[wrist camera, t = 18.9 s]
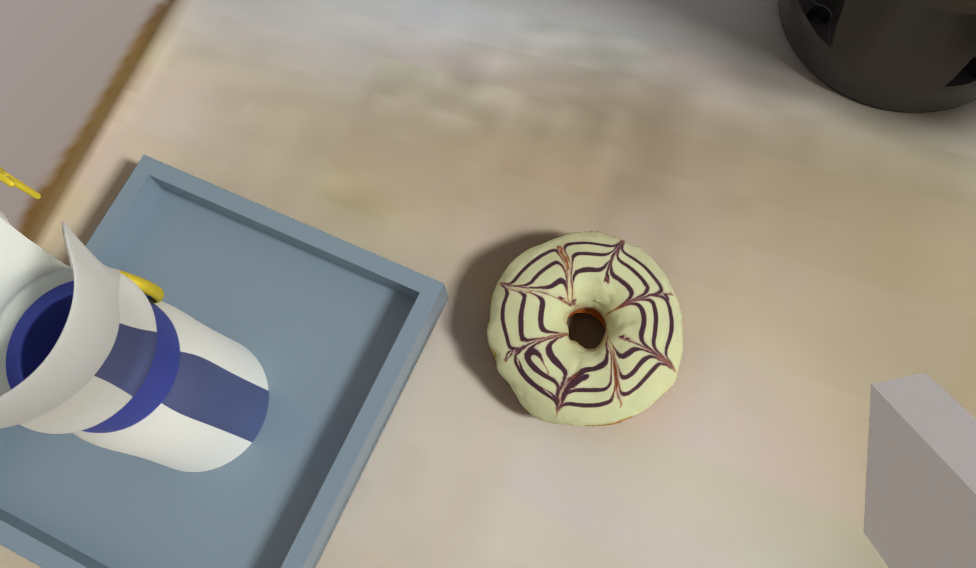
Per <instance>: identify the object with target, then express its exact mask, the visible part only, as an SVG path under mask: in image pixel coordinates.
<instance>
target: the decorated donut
mask: <svg viewBox="0 0 976 568" xmlns="http://www.w3.org/2000/svg"><path fill="white" fill-rule="evenodd" d="M490 304H491V307H490V319H489V323H488V326H487V337H488V343H489V347H490V350H491V352H492V354H493V356H494V357H495V361H496V363H497V371H498V372H499V373H500V375H501V376H502V377H503V378H504V379H505V380H506V381H507V382H508V383H509V384H510V386H511V388H512V390H513V391H514V393H515V394H516V396H517V398H518V400H519V402H520V403H521V405H522V406H523V407H524V408H525V409H526V410H527V411H528V412H529V413H530V414H531V415H533V416H534V417H536V418H538V419H540V420H542V421H545V422H550V423H555V424H567V425H571V426H600V425H612V424H615V423H620V422H622V421H623V420H626V419H628V418H631V417H633V416H634V415H637V414H639V413H641V412H642V411H644V410H646V409H647V408H648V407H650V406H651V405H652V404H653V403H654V402H655V401H656V400H657V399H658V398H659V397H660V396H661V395H663V394H664V393H665V392H666V391H667V390H668V389H669V388H670V387H671V386H672V385H673V384H674V382H675V380H676V378H677V373H678V368H679V364H680V361H681V357H682V353H683V337H682V333H683V326H682V313H681V310H680V307H679V303H678V300H677V297H676V295H675V293H674V291H673V290H672V287H671V285H670V283H669V281H668V279H667V277H666V275H665V273H664V272H663V270H662V269H661V268H660V267H659V266H658V265H657V264H656V263H655V261H654V260H653V258H652V257H651V256H650V255H648V254H647V253H646V252H645V251H643V250H642V249H640V248H639V247H637V246H634V245H631V244H630V243H627V242H625V241H624V240H622V239H620V238H618V237H615V236H611V235H607V234H604V233H602V232H593V231H590V232H578V233H569V234H566V235H563V236H560V237H557V238H554V239H552V240H550V241H547V242H545V243H543V244H540V245H537V246H534V247H532V248H529V249H528V250H526V251H524V252H523V253H522V254H520V255H519V256H518V257H516V258H515V259H514V260H513V261H512V262H511V263H510V264H509V265H508V267H507V268H506V270H505V271H504V273H503V274H502V276H501V278H500V280H499V281H498V283H497V285H496V288H495V290H494V292H493V295H492V297H491V303H490ZM575 313H586V314H587V313H588V314H592V316H593V317H597V319H598V320H599V321H600V322H601V324H602V326H604V328H605V329H606V330H605V333H604V335H603V339H602V341H601V343H600V344H599V345H598V346H597V347H596V348H593V349H586V348H583V347H582V346H581V345H579V344H578V343H577V342H576V341H573V340H570V339H569V329H568V325H567V322H568V318H569V317H570V316H572V315H573V314H575Z"/></svg>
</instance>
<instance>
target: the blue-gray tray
mask: <svg viewBox="0 0 976 568" xmlns="http://www.w3.org/2000/svg"><path fill="white" fill-rule="evenodd" d="M86 248H87V249H88V250H89V251H90V252H91V253H92V254H93V255H94V256H95V257H96V258H97V259H98V260H99V261H100V262H101V263H103V264H104V265H105V266H107V267H110V268H114V269H117V270H121V271H124V272H127V273H130V274H133V275H136V276H139V277H141V278H144V279H146V280H148V281H150V282H152V283H154V284H156V285H158V286H159V287H160V288H162V290H163V291H164V298H163V300H162V301H163V302H165V303H167V304H169V305H172V306H174V307H175V308H177V309H179V310H181V311H182V312H184V313H186V314H187V315H189V316H191V317H192V318H194V319H195V320H197V321H199V322H200V323H202V324H203V325H205V326H207V327H209V328H210V329H212V330H214V331H216V332H218V333H220V334H222V335H224V336H226V337H228V338H230V339H232V340H234V341H236V342H238V343H239V344H241V345H243V346H244V347H246V348H247V349H248V350H249V351H250V352H251V353H252V354H253V355H254V356H255V357H256V358H257V360H258V361H259V363H260V364H261V366H262V368H263V370H264V372H265V375H266V378H267V382H268V389H269V403H268V409H267V414H266V417H265V420H264V423H263V425H262V427H261V429H260V431H259V433H258V435H257V436H256V438H255V439H254V441H253V442H252V443H251V444H250V446H249V447H248V448H247V449H246V450H245V451H244V452H243V453H242V454H240V455H239V456H238V457H237V458H235V459H234V460H232V461H231V462H229V463H227V464H225V465H223V466H221V467H218V468H216V469H212V470H209V471H203V472H184V471H179V470H175V469H172V468H169V467H166V466H164V465H161V464H158V463H155V462H153V461H150V460H147V459H144V458H140V457H137V456H133V455H129V454H125V453H121V452H117V451H113V450H109V449H106V448H102V447H99V446H96V445H94V444H92V443H89V442H87V441H85V440H83V439H81V438H79V437H77V436H76V435H75V434H73V433H67V434H47V433H41V432H37V431H33V430H30V429H28V428H25V427H23V426H21V425H19V424H18V425H15V426H11V427H6V428H1V429H0V545H2V546H4V547H6V548H8V549H10V550H11V551H13V552H15V553H17V554H19V555H20V556H22V557H24V558H26V559H28V560H29V561H31V562H33V563H35V564H37V565H38V566H40V567H42V568H315V567H316V565H317V563H318V561H319V559H320V557H321V555H322V553H323V551H324V549H325V547H326V545H327V543H328V541H329V539H330V537H331V535H332V533H333V531H334V529H335V526H336V524H337V522H338V520H339V518H340V516H341V514H342V512H343V510H344V508H345V506H346V504H347V502H348V500H349V498H350V496H351V494H352V492H353V490H354V488H355V486H356V484H357V482H358V480H359V478H360V476H361V474H362V472H363V470H364V468H365V466H366V464H367V462H368V460H369V458H370V456H371V454H372V452H373V450H374V448H375V446H376V444H377V442H378V440H379V437H380V435H381V433H382V431H383V429H384V427H385V425H386V423H387V421H388V419H389V417H390V415H391V413H392V411H393V409H394V407H395V405H396V403H397V401H398V399H399V397H400V395H401V393H402V391H403V389H404V387H405V385H406V383H407V381H408V379H409V377H410V375H411V373H412V371H413V369H414V367H415V365H416V363H417V361H418V359H419V357H420V355H421V353H422V351H423V349H424V346H425V344H426V342H427V340H428V338H429V336H430V334H431V332H432V330H433V328H434V326H435V324H436V322H437V320H438V318H439V316H440V314H441V312H442V310H443V308H444V306H445V304H446V302H447V300H448V298H449V297H448V294H447V291H446V288H445V285H444V284H443V283H441V282H439V281H436V280H434V279H432V278H429V277H427V276H425V275H423V274H420V273H418V272H416V271H413V270H411V269H409V268H406V267H404V266H402V265H399V264H397V263H395V262H392V261H390V260H388V259H385V258H383V257H381V256H378V255H376V254H374V253H371V252H369V251H367V250H364V249H362V248H360V247H357V246H355V245H353V244H350V243H348V242H346V241H343V240H341V239H339V238H336V237H334V236H332V235H329V234H327V233H325V232H322V231H320V230H318V229H315V228H313V227H311V226H309V225H306V224H304V223H302V222H299V221H297V220H295V219H292V218H290V217H288V216H285V215H283V214H281V213H278V212H276V211H274V210H271V209H269V208H267V207H264V206H262V205H260V204H257V203H255V202H253V201H250V200H248V199H246V198H243V197H241V196H239V195H236V194H234V193H232V192H229V191H227V190H225V189H222V188H220V187H218V186H215V185H213V184H211V183H208V182H206V181H204V180H201V179H199V178H197V177H194V176H192V175H190V174H188V173H185V172H183V171H181V170H178V169H176V168H174V167H171V166H169V165H167V164H164V163H162V162H160V161H157V160H155V159H153V158H150V157H148V156H146V155H143V157H142V158H141V160H140V161H139V163H138V164H137V166H136V168H135V169H134V171H133V172H132V174H131V175H130V177H129V179H128V180H127V182H126V183H125V185H124V186H123V188H122V190H121V191H120V193H119V194H118V196H117V197H116V199H115V200H114V202H113V204H112V205H111V207H110V208H109V210H108V211H107V213H106V215H105V216H104V218H103V219H102V221H101V222H100V224H99V225H98V227H97V229H96V230H95V232H94V233H93V235H92V236H91V238H90V240H89V241H88V243H87V244H86Z"/></svg>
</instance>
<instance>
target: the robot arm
mask: <svg viewBox="0 0 976 568" xmlns="http://www.w3.org/2000/svg"><path fill="white" fill-rule="evenodd" d="M779 11H780V17H781V21H782V25H783V28H784V31H785V33H786V36H787V38H788V40H789V42H790V44H791V45H792V47H793V49H794V50H795V52H796V53H797V55H798V56H799V58H800V59H801V60H802V61H803V63H804V64H805V65H806V66H807V67H808V68H809V69H810V70H811V71H812V72H813V73H814V74H815V75H816V76H817V77H819V78H820V79H821V80H822V81H824V82H825V83H826V84H828V85H829V86H831V87H832V88H834V89H835V90H837V91H839V92H840V93H842V94H844V95H846V96H848V97H850V98H852V99H855V100H857V101H860V102H862V103H865V104H868V105H871V106H874V107H878V108H882V109H887V110H893V111H901V112H932V111H939V110H944V109H949V108H953V107H956V106H960V105H962V104H965V103H968V102H970V101H972V100H974V99H976V0H779ZM864 533H865V534H866V536H867V537H868V539H869V540H870V541H871V543H872V544H873V546H874V547H875V548H876V550H877V551H878V552H879V554H880V555H881V557H882V558H883V559H884V561H885V562H886V564H887V565H888V566H889V568H976V419H975V418H974V417H973V416H972V415H971V414H970V413H969V412H968V411H967V410H966V409H964V408H963V407H962V406H961V405H960V404H959V403H958V402H957V401H956V400H955V399H954V398H953V397H951V396H950V395H949V394H948V393H947V392H946V391H945V390H944V389H943V388H942V387H941V386H940V385H938V384H937V383H936V382H935V381H934V380H933V379H932V378H931V377H930V376H929V375H928V374H927V373H922V374H917V375H912V376H907V377H902V378H897V379H892V380H888V381H883V382H878V383H873V384H871V396H870V416H869V435H868V455H867V475H866V494H865V514H864Z"/></svg>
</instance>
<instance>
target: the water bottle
mask: <svg viewBox="0 0 976 568" xmlns="http://www.w3.org/2000/svg"><path fill="white" fill-rule="evenodd" d="M0 180H1V181H2V182H4V183H5V184H7V185H8V186H10V187H13V186H15V187H17V188H18V189H20V190H22V191H23V192H25V193H27V194H29V195H30V196H32V197H34V198H36V199H40V198H41V195H40V194H39V193H37V192H36V191H34V190H33V189H31V188H30V187H28V186H27V185H25V184H23V183H22V182H21V181H19V180H18V179H16V178H15V177H13V176H11V175H10V174H8V173H7V172H6V171H5V170H3V169H2V168H1V167H0ZM62 231H63V237H64V241H65V245H66V249H67V253H68V258H69V263H70V266H68V265H66V264H64V263H63V262H61V261H60V260H58V259H56V258H55V257H53V256H52V255H50V254H49V253H48V252H46V251H45V250H43V249H42V248H40V247H39V246H37V245H36V244H35V243H33V242H32V241H30V240H29V239H28V238H26V237H25V236H24V235H22V234H21V233H20V232H18V231H17V230H16V229H15V228H13V227H12V226H11V225H10V224H9V222H8V220H7V219H6V217H5V216H4V214H3V213H2V212H1V211H0V429H1V428H6V427H11V426H15V425H18V424H19V425H21V426H23V427H25V428H28V429H30V430H33V431H37V432H41V433H47V434H67V433H73V434H75V435H76V436H77V437H79V438H81V439H83V440H85V441H87V442H89V443H92V444H94V445H96V446H99V447H102V448H106V449H109V450H113V451H117V452H121V453H125V454H129V455H133V456H137V457H140V458H144V459H147V460H150V461H153V462H155V463H158V464H161V465H164V466H166V467H169V468H172V469H175V470H179V471H184V472H203V471H209V470H212V469H216V468H218V467H221V466H223V465H225V464H227V463H229V462H231V461H232V460H234V459H235V458H237V457H238V456H239V455H240V454H242V453H243V452H244V451H245V450H246V449H247V448H248V447H249V446H250V444H251V443H252V442H253V441H254V439H255V438H256V436H257V435H258V433H259V431H260V429H261V427H262V425H263V423H264V420H265V417H266V414H267V409H268V403H269V389H268V382H267V378H266V375H265V372H264V370H263V368H262V366H261V364H260V363H259V361H258V360H257V358H256V357H255V356H254V355H253V354H252V353H251V352H250V351H249V350H248V349H247V348H246V347H244V346H243V345H241V344H239V343H238V342H236V341H234V340H232V339H230V338H228V337H226V336H224V335H222V334H220V333H218V332H216V331H214V330H212V329H210V328H209V327H207V326H205V325H203V324H202V323H200V322H199V321H197V320H195V319H194V318H192V317H191V316H189V315H187V314H186V313H184V312H182V311H181V310H179V309H177V308H175V307H174V306H172V305H169V304H167V303H165V302H163V301H162V300H163V298H164V291H163V290H162V288H160V287H159V286H158V285H156V284H154V283H152V282H150V281H148V280H146V279H144V278H141V277H139V276H136V275H133V274H130V273H127V272H124V271H121V270H117V269H114V268H110V267H107V266H105V265H104V264H103V263H101V262H100V261H99V260H98V259H97V258H96V257H95V256H94V255H93V254H92V253H91V252H90V251H89V250H88V249H87V248H86V246H85V245H84V244H83V243H82V242H81V241H80V240H79V239H78V238H77V237H76V235H75V234H74V233H73V232H72V231H71V230H70V228H69V227H68V226H67V225H66V223H65V222H64V221H63V222H62Z"/></svg>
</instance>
